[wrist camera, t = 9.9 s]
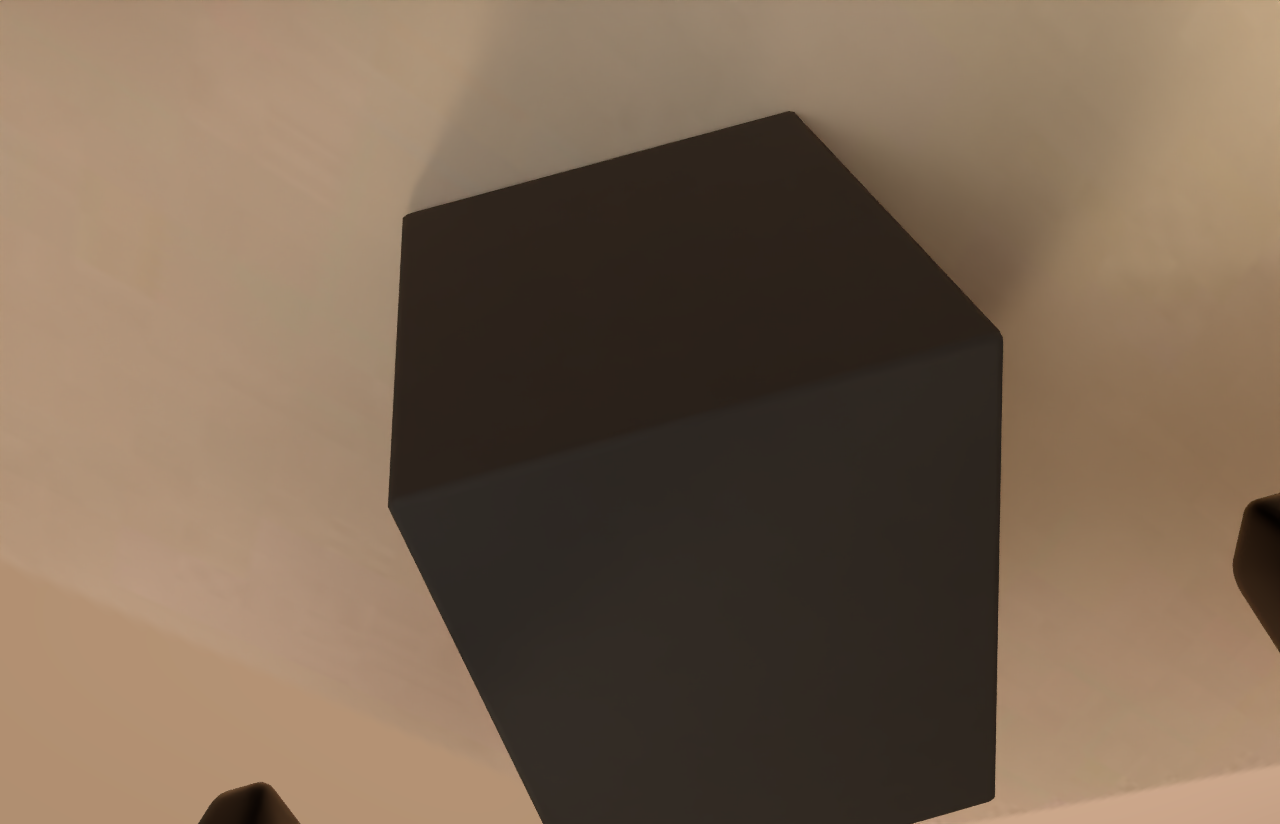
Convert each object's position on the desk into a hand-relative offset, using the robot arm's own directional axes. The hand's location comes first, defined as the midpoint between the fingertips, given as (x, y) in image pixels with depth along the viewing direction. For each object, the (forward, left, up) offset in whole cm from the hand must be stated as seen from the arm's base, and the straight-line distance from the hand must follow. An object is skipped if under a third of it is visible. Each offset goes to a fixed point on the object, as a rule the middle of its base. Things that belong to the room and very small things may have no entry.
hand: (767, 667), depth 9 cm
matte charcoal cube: (0, 0, -5) cm, 5 cm away
